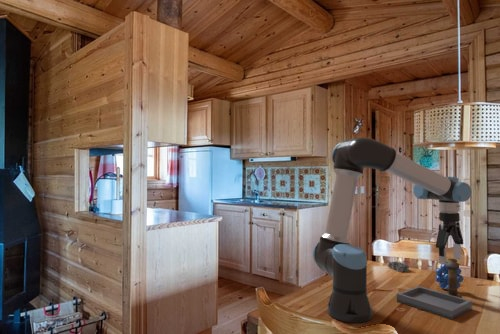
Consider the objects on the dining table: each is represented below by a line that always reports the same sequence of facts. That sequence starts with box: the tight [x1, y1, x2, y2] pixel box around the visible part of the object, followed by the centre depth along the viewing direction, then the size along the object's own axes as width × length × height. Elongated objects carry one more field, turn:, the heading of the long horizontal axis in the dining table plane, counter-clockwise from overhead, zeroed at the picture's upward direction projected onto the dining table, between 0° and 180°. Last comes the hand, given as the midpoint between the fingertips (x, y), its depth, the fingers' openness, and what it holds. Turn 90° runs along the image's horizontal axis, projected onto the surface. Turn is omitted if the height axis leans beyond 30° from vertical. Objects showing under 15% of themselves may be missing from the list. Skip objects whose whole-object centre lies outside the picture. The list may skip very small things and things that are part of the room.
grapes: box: [434, 264, 464, 292], centre depth 141 cm, size 12×7×12 cm, turn 31°
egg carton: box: [386, 259, 410, 273], centre depth 174 cm, size 11×8×4 cm
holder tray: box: [396, 285, 473, 321], centre depth 125 cm, size 16×20×3 cm
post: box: [444, 258, 463, 298], centre depth 132 cm, size 6×6×16 cm
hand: (450, 261), depth 142 cm, fingers open, 13 cm apart
